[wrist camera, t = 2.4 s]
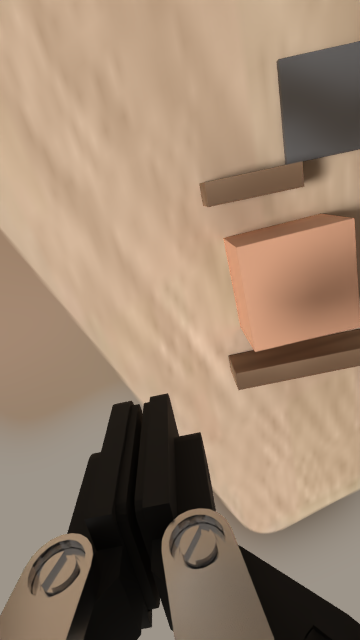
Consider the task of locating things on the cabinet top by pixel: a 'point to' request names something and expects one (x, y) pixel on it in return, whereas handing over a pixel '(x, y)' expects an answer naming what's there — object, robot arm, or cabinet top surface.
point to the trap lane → (301, 145)
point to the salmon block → (295, 280)
